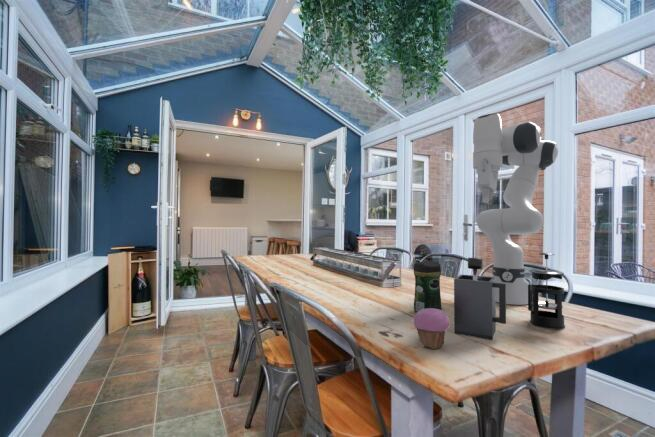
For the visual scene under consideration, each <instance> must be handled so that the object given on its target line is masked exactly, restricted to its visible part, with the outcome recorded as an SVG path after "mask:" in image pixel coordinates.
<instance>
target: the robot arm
mask: <svg viewBox="0 0 655 437" xmlns="http://www.w3.org/2000/svg"><path fill="white" fill-rule="evenodd" d="M472 133H473V134H472V144H473V152H472V169H473V170H476V173H477V186H478V188H479V189H480V190H481V195H482V203H483V204H486V205H492V204H493V197H494V193H495V192H497V188H498V177H499V171H501V168H502V167H503V165H504V166H505V165H506V166H516V167H517V168H516V169H515V171H514V172H513V173H512V174H511V177H510V178H509V181H508V183H507V185H506V187H505V190H504V191H503V192H504V193H503V196H502V198H503V202H504V203H505V205H507V206H508V208H492V209H487V210H483V211H481V212H479V214H478V216H477V217H476V218H477V219H476V225H477V228H478V229H479V231H480V232H481V233H483V234H484V235H485V236H486V238H487V239H488V240H489V241H490V245H491V248H492V254H493V255H492V258H493V266H492V269H491V271H492V276H491V277H496V283H506V305H514V306H515V305H517V306H521V305H528V285H530V282H528V281H527V279H525V277H526V268H525V267H524V266H525V265H524V256H525V253H524V250H523V248H522V247H521V246H520V245H519V244H517V243H515V242H514V241H513V240H512V239H511V235H522V236H526V235H532V234H538V233H539V232H540V231H541V230H542V228H543V226H544V223H545V222H544V216H543V214H542V212H540V210H538V209H537V208H536V207H534V206H533V199H534V196H535V193H536V190H537V187H538V184H539V174H540V173H539V172H540V170H541V171H545V170H546V169H547V168H549V167H550V166H552V165H553V164H554V163H555V161H556V159H557V157H558V155H559V148H558V145H557V143H556V142H555V141H551V140H546V139H545V140H542V131H541V128H540V126H538V125H537V124H536V123H534V122H531V121H527V122H519V123H514V124H512V125H510V126H505V127H502V118H501V116H500V114H499V113H488V114H483V115H481V116H478V117H477V118H475V120H474V123H473V132H472ZM496 303H499V288H496Z"/></svg>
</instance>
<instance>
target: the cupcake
mask: <svg viewBox="0 0 655 437" xmlns="http://www.w3.org/2000/svg"><path fill="white" fill-rule="evenodd" d="M413 325H414V327H415V328H416V331H417V335H418V341H419V342H420V344H421V345H422V346H423V347H425V348H426V347H427V348H430V349H433V350H437V349H439V348H441V347H443V346H444V344H445V333H446V331H447V330H448V329H449V327H450V319H449V317H448V316H447V315H446V314H445V313H444V311H443V310H440V309H435V308H426V309H421V310H420V311H418V312H416V313H415V315H414V317H413Z"/></svg>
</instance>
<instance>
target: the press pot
mask: <svg viewBox="0 0 655 437" xmlns="http://www.w3.org/2000/svg"><path fill="white" fill-rule="evenodd" d="M496 288H499V302H498V303H499V304H498V306H499V307H498V309H499V310H498V311H499V312H498V315H499V316H496V315H497V314H496V313H497V311H496V307H497V305H496V303H497V302H496ZM453 301H454V302H453V322H454V323H453V327H454V329H453V330H454V331H453V334H454V335H455V334H456V335H460V336H466V337H471V338H478V339H484V340H487V341H488V340H489V341H493V339H494V337H495V334H496V331H497V324H498V323H499V324H503V325H506V324H507V304H506V283H496V277H492V276H482V275H477V280H473V274H472V275H471V274H469V275H468V274H461V273H460V274H459V275H458V276H456V277H455V278H453ZM496 323H497V324H496Z"/></svg>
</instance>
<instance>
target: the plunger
mask: <svg viewBox="0 0 655 437" xmlns="http://www.w3.org/2000/svg"><path fill="white" fill-rule="evenodd" d="M467 269H469V270H472V275H473V280H477V276H478V270H482V269H483V258H480V257H467Z"/></svg>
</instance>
